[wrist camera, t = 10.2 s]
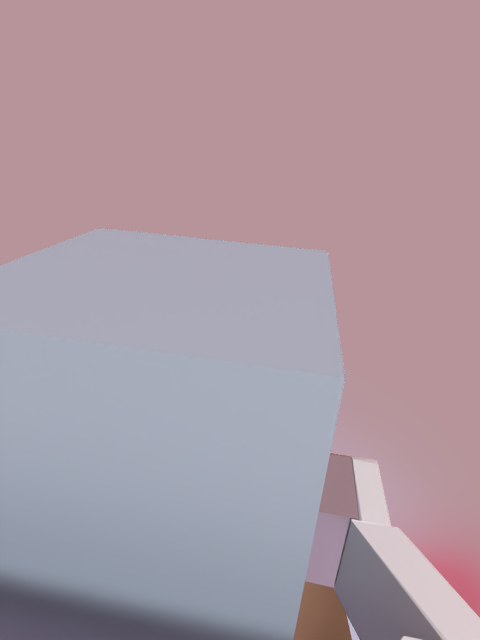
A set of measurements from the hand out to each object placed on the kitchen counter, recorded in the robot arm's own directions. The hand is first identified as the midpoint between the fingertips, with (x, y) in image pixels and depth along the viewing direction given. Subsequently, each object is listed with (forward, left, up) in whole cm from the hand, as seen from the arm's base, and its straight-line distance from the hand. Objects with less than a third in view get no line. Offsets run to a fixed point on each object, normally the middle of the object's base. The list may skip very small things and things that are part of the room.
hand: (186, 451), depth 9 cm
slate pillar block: (0, -1, -6) cm, 6 cm away
